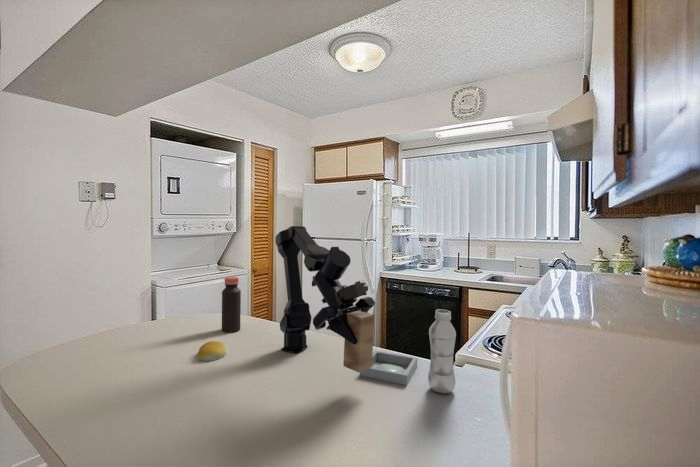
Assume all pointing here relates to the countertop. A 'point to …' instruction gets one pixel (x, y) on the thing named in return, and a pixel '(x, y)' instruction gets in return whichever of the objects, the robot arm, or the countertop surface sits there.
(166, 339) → the countertop surface
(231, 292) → the vinegar
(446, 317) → the plastic bottle
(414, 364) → the walled pen
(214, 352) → the bread roll
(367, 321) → the walnut block
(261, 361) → the countertop surface
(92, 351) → the countertop surface
